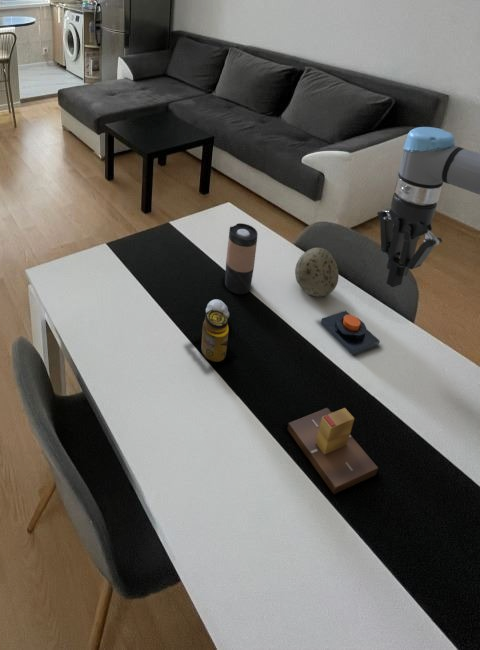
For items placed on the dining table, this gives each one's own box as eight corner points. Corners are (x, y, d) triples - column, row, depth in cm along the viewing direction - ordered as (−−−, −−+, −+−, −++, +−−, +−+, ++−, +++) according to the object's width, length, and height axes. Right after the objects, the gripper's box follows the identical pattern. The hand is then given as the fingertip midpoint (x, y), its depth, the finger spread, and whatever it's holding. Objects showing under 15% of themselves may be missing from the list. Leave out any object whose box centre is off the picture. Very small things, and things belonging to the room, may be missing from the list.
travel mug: (251, 298, 123) (258, 241, 115) (223, 292, 125) (228, 237, 118) (250, 279, 129) (257, 225, 122) (224, 274, 132) (229, 221, 124)
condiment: (233, 358, 106) (237, 322, 101) (206, 372, 103) (209, 336, 98) (213, 336, 112) (216, 301, 107) (187, 349, 109) (189, 313, 104)
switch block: (378, 347, 106) (381, 335, 105) (352, 356, 104) (355, 344, 103) (344, 316, 115) (347, 305, 114) (320, 324, 113) (322, 313, 112)
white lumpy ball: (204, 329, 114) (206, 310, 111) (205, 309, 120) (206, 290, 117) (228, 334, 112) (230, 314, 110) (227, 313, 118) (229, 294, 116)
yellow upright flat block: (337, 433, 86) (345, 406, 83) (347, 445, 84) (354, 417, 81) (315, 443, 85) (322, 415, 82) (324, 454, 83) (331, 427, 80)
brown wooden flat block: (375, 475, 81) (378, 467, 80) (333, 495, 79) (335, 486, 78) (325, 415, 92) (327, 406, 91) (286, 430, 90) (288, 422, 89)
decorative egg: (343, 300, 120) (353, 258, 115) (310, 309, 118) (319, 266, 112) (314, 274, 130) (322, 234, 124) (284, 282, 128) (290, 241, 122)
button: (362, 328, 107) (364, 323, 107) (351, 332, 106) (352, 327, 106) (350, 317, 111) (351, 312, 110) (339, 321, 110) (340, 316, 109)
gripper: (373, 186, 97) (356, 270, 105) (434, 217, 85) (409, 308, 93) (398, 179, 99) (380, 262, 107) (461, 208, 87) (434, 298, 95)
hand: (393, 283), depth 100 cm, fingers closed
